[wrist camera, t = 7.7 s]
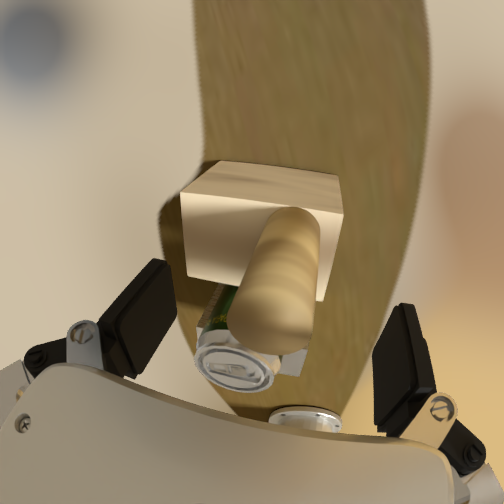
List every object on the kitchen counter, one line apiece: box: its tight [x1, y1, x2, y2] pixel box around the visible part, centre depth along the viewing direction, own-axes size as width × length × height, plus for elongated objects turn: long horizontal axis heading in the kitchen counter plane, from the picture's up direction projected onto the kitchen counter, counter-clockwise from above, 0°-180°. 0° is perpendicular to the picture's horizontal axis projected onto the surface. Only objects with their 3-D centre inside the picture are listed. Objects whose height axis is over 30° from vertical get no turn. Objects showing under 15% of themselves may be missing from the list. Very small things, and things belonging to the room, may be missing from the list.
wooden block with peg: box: [180, 161, 344, 355], centre depth 16 cm, size 6×9×14 cm, turn 87°
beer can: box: [194, 284, 283, 393], centre depth 21 cm, size 5×5×12 cm
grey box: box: [196, 283, 309, 377], centre depth 25 cm, size 4×9×7 cm, turn 87°
